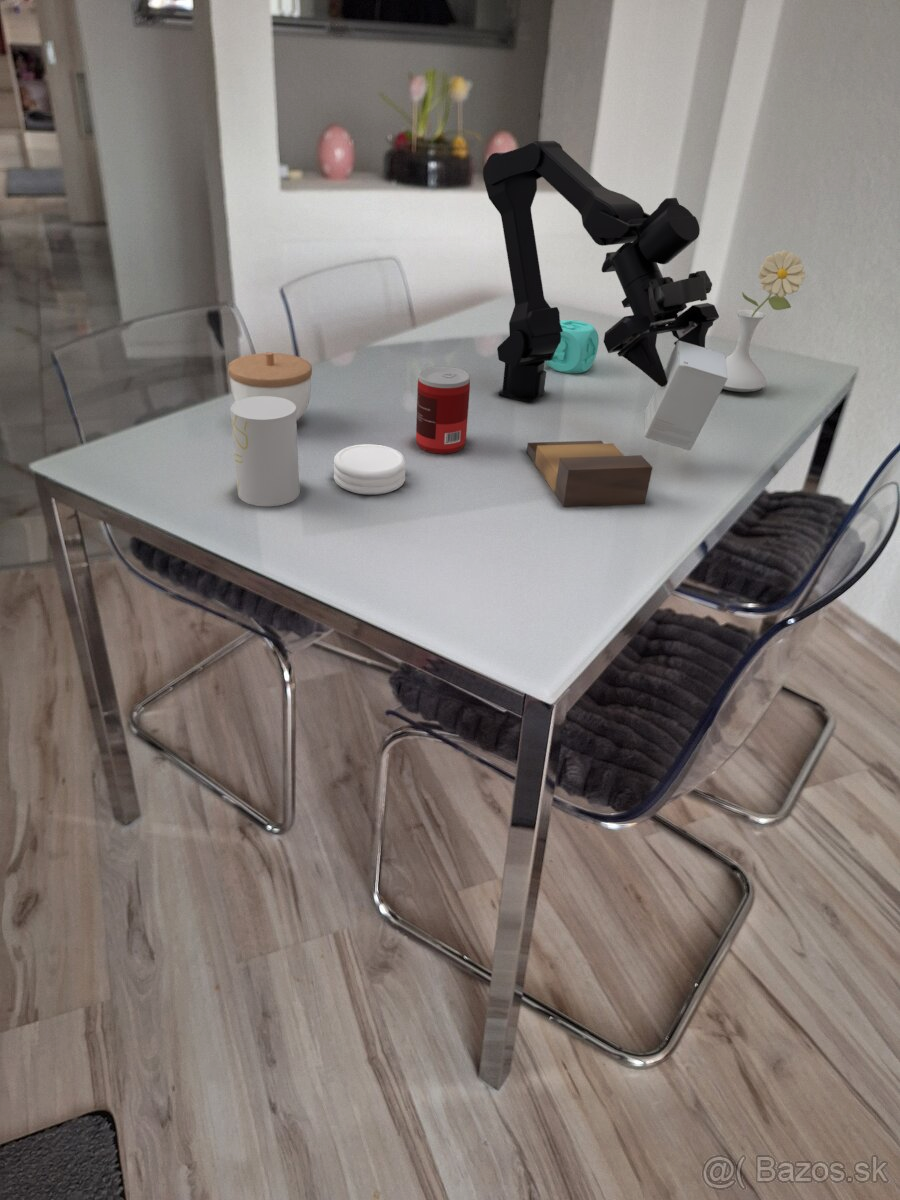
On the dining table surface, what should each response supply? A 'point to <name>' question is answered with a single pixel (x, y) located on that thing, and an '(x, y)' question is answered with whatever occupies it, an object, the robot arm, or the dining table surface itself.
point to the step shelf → (591, 472)
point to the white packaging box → (685, 395)
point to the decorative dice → (575, 347)
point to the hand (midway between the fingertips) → (684, 380)
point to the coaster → (369, 469)
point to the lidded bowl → (272, 378)
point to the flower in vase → (777, 279)
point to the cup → (265, 450)
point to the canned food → (442, 409)
